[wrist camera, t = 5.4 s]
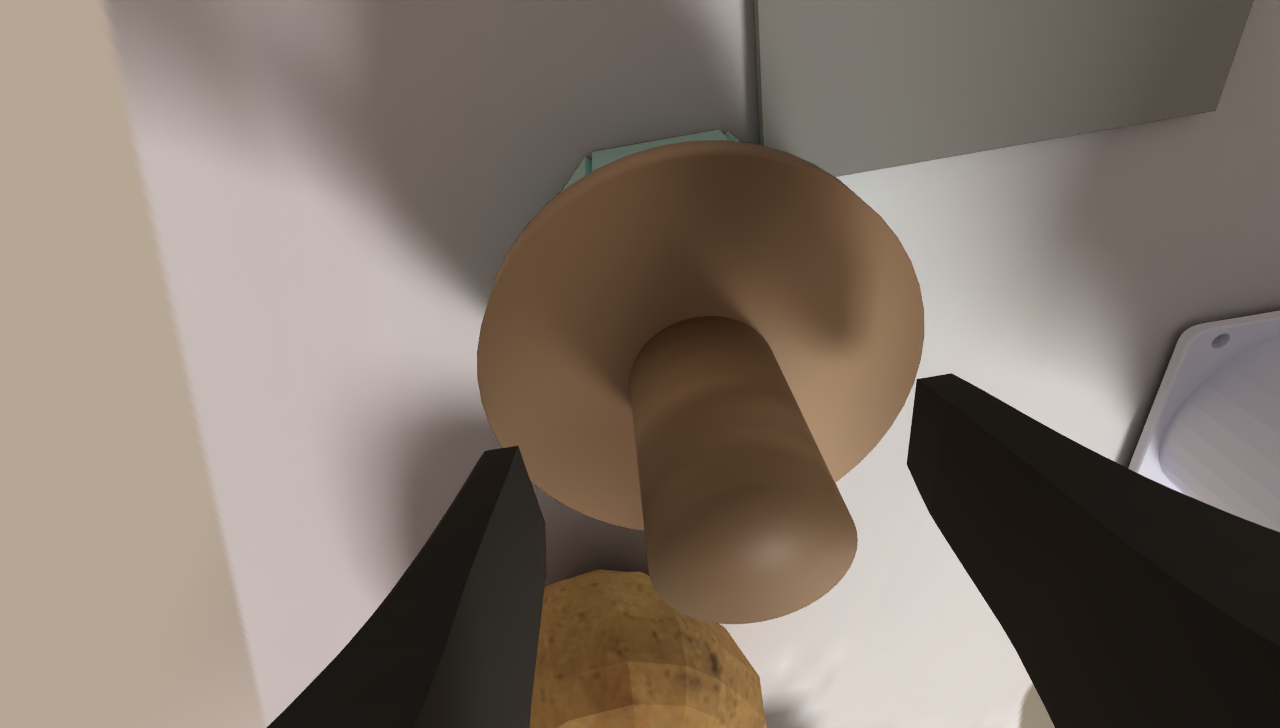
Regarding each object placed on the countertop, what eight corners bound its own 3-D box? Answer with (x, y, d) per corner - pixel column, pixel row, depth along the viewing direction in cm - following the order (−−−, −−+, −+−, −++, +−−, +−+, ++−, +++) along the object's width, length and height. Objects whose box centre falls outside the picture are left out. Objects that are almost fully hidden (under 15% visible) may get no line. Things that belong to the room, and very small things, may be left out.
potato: (738, 472, 21) (809, 711, 14) (739, 693, 29) (786, 916, 22) (452, 506, 21) (389, 763, 14) (531, 719, 29) (514, 950, 22)
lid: (941, 119, 11) (1196, 231, 6) (870, 484, 16) (986, 695, 11) (436, 162, 11) (326, 312, 6) (523, 519, 16) (497, 749, 11)
